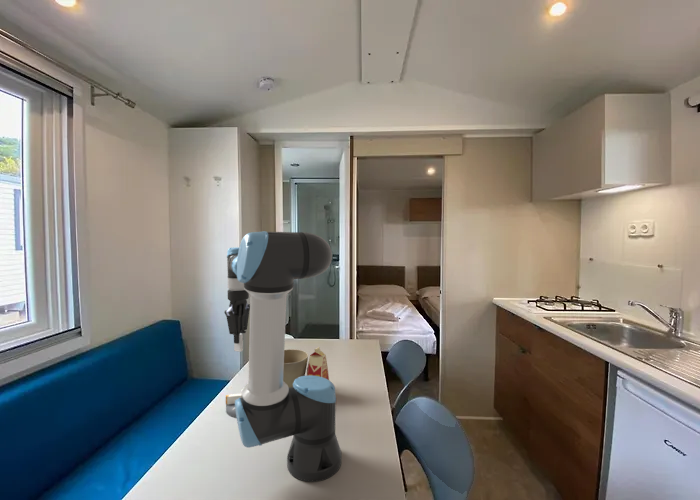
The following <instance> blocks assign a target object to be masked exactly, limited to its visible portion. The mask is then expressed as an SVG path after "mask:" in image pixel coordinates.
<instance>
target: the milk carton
mask: <svg viewBox="0 0 700 500" xmlns="http://www.w3.org/2000/svg"><path fill="white" fill-rule="evenodd" d="M308 375H312V376H319V377H323V378H326V379H328V380H329V381H330V375H329V367H328V360H327V356H326V354H325V353H324V352H323V351H322V350H321V349H320V346H317V347H316V348H314V352H313V353H311V354H309V357H308V362H307V367H306V376H308Z"/></svg>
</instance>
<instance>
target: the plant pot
mask: <svg viewBox="0 0 700 500" xmlns="http://www.w3.org/2000/svg"><path fill="white" fill-rule="evenodd" d="M308 362H309V353H308V352H307V351H305V350H302V349H298V348H297V349H296V348H295V349H294V348H291V349H290V348H289V349H284V372H283V381H284V382H285V383H286V384H287V385H288V388H290V387H293V383H294V380H295V379H297V378H298V377H301V376H306V373H307V367H308Z"/></svg>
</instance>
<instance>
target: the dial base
mask: <svg viewBox="0 0 700 500" xmlns="http://www.w3.org/2000/svg"><path fill="white" fill-rule="evenodd" d="M225 413H226V414H227V415H228V416H229V417H231V418H235V419H237V417H236V411H235V404H228V405H227V404H226V403H225Z"/></svg>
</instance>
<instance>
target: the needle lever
mask: <svg viewBox="0 0 700 500" xmlns="http://www.w3.org/2000/svg"><path fill="white" fill-rule="evenodd" d="M242 391H243V388H241V390H240V393H232V394H227V395H225V405H226V404H227V405H228V404H235V400H236V399H238V398H242Z"/></svg>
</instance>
